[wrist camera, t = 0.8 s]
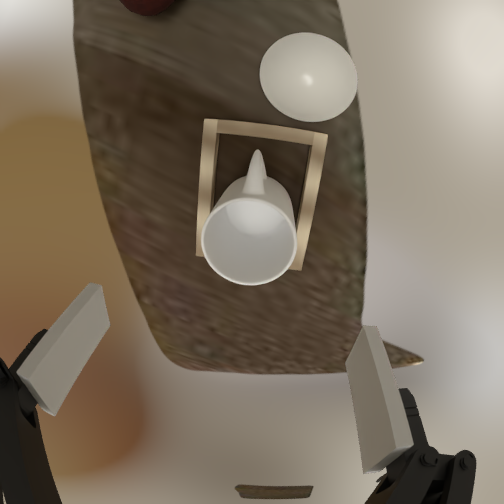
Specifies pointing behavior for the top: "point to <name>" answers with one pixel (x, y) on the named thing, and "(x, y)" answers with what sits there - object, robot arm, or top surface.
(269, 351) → the top surface
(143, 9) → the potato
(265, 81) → the plate
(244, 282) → the mug
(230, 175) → the top surface
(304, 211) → the wooden picture frame
